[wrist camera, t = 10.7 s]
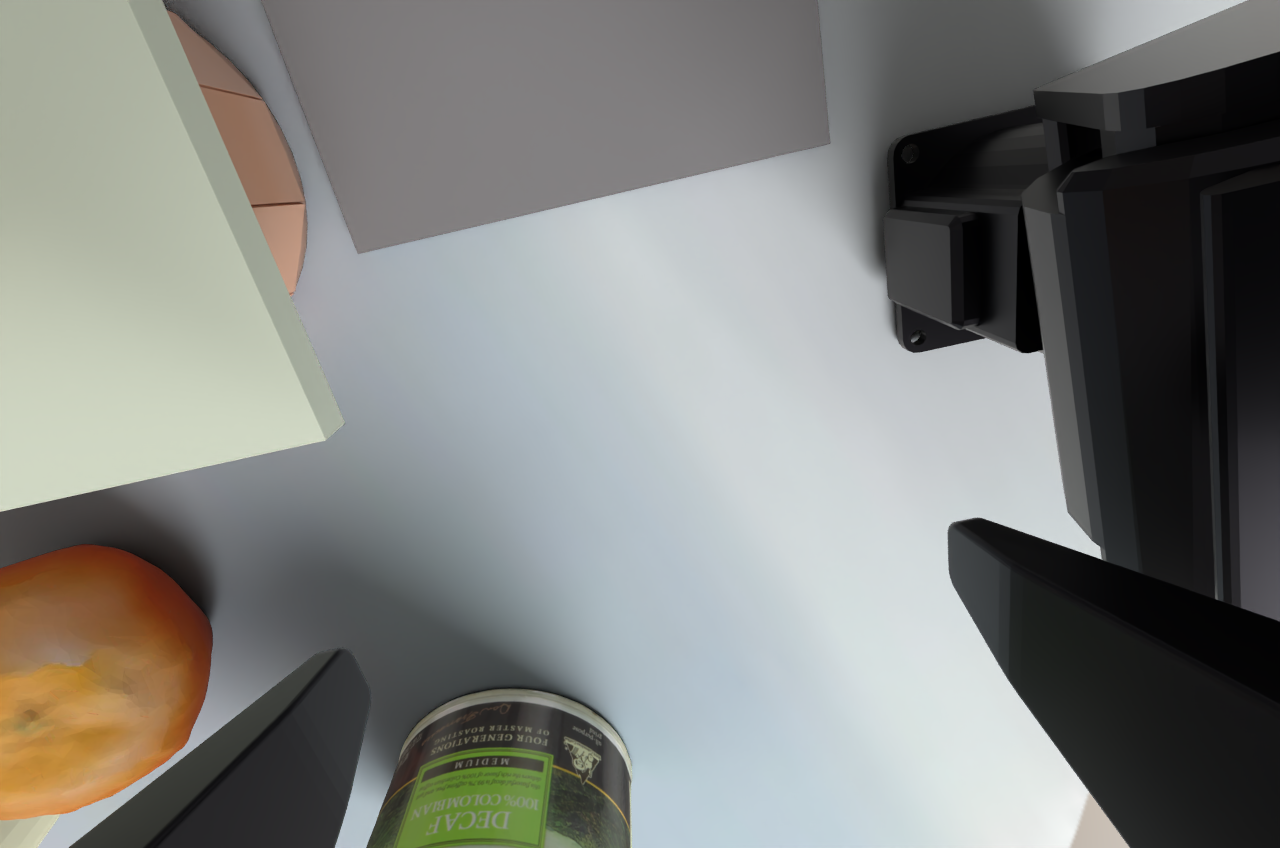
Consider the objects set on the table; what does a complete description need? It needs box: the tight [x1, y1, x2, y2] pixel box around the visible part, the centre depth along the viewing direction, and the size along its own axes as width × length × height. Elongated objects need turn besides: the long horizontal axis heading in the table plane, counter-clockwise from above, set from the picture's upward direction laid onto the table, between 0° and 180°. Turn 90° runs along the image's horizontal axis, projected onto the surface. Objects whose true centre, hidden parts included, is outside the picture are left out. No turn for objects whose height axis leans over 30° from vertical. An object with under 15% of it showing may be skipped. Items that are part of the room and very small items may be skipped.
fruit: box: [0, 544, 213, 820], centre depth 20 cm, size 8×8×8 cm
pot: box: [167, 10, 307, 297], centre depth 15 cm, size 10×10×6 cm
